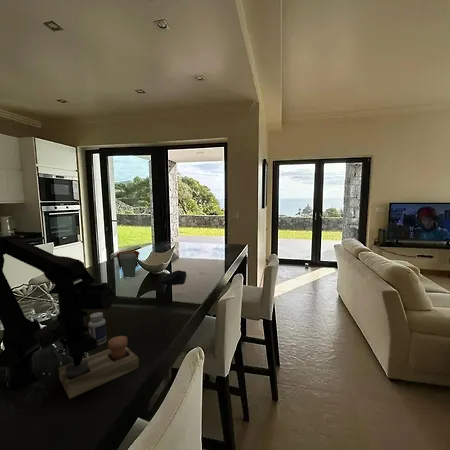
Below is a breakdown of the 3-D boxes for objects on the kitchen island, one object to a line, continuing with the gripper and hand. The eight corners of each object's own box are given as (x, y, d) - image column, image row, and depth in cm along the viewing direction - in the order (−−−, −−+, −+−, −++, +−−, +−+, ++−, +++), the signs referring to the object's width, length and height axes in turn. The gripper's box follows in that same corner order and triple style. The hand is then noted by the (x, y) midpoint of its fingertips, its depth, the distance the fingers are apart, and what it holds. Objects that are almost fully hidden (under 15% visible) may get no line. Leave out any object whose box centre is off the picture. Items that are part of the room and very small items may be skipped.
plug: (65, 381, 75) (63, 365, 74) (86, 372, 78) (84, 357, 78) (70, 390, 71) (68, 373, 70) (92, 381, 74) (90, 365, 74)
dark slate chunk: (190, 274, 178) (189, 267, 177) (183, 285, 156) (182, 277, 155) (166, 275, 178) (166, 268, 178) (156, 286, 157) (155, 277, 156)
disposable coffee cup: (140, 274, 180) (139, 251, 179) (133, 279, 170) (132, 255, 168) (125, 274, 181) (123, 252, 180) (117, 279, 171) (115, 255, 169)
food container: (116, 266, 207) (115, 251, 206) (138, 263, 213) (137, 249, 212) (117, 270, 192) (116, 255, 191) (141, 267, 199) (140, 252, 198)
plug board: (59, 378, 76) (58, 368, 76) (123, 352, 88) (123, 343, 88) (69, 399, 68) (68, 387, 68) (139, 367, 80) (138, 357, 80)
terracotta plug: (106, 355, 82) (105, 340, 81) (124, 348, 85) (123, 334, 85) (113, 362, 78) (111, 347, 77) (131, 355, 81) (130, 340, 81)
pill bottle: (109, 337, 98) (107, 311, 97) (103, 345, 93) (101, 317, 92) (94, 338, 98) (91, 311, 97) (87, 346, 93) (84, 318, 92)
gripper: (29, 307, 74) (35, 363, 76) (42, 331, 60) (48, 398, 62) (75, 297, 82) (79, 347, 83) (96, 315, 68) (100, 376, 69)
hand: (77, 365), depth 74 cm, fingers closed, pressing on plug
